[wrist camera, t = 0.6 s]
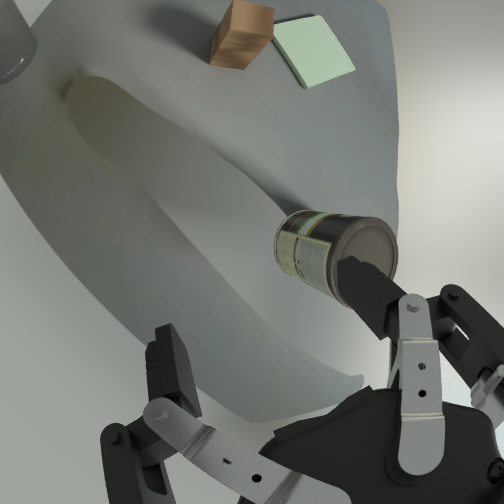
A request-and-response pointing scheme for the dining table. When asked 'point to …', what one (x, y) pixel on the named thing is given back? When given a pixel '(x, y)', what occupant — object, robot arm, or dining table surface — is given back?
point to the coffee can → (332, 247)
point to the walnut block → (241, 34)
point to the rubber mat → (311, 50)
